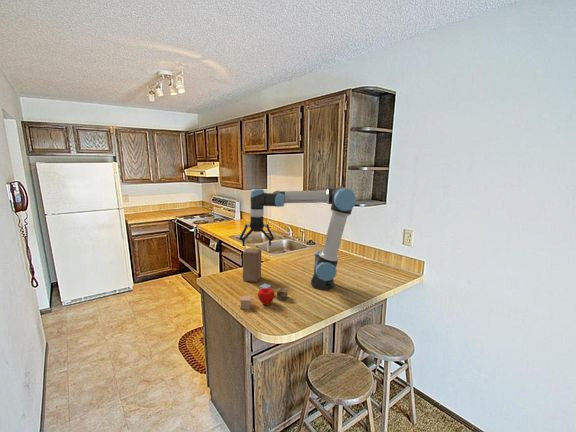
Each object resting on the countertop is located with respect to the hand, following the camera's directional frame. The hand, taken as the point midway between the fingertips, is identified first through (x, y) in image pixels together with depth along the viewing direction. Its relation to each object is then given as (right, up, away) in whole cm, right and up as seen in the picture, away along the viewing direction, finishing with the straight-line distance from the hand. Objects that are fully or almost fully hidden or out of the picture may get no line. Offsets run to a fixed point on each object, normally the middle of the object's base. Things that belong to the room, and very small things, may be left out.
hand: (256, 251), depth 162 cm
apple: (+6, -28, -11) cm, 30 cm away
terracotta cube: (-4, -28, -15) cm, 32 cm away
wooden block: (-6, -21, +21) cm, 31 cm away
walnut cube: (+15, -27, -4) cm, 31 cm away
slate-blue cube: (+5, -25, 0) cm, 26 cm away
